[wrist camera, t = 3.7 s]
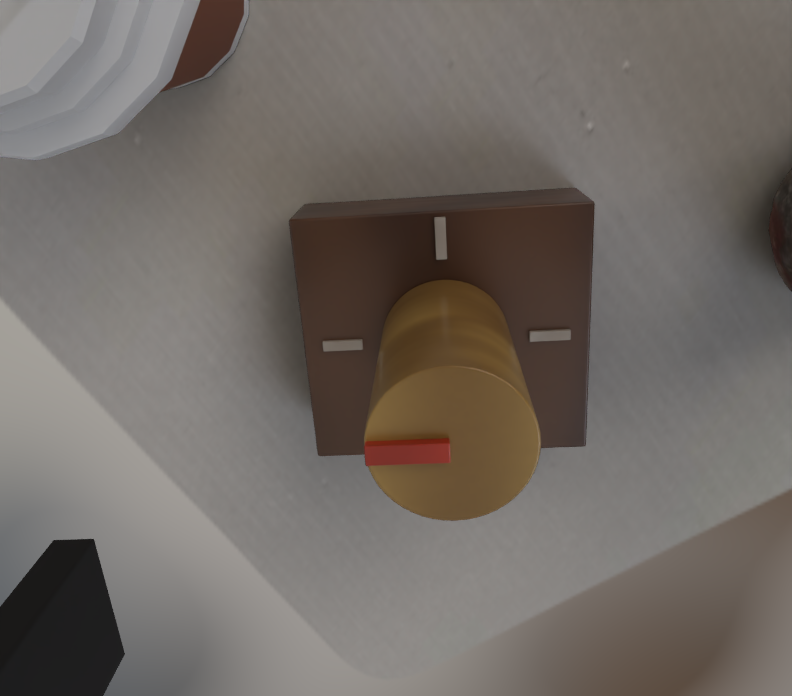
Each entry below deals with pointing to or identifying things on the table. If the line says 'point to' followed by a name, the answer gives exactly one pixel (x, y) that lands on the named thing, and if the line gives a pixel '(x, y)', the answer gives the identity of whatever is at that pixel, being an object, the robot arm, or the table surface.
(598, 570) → the table surface
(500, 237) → the panel
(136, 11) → the coffee cup
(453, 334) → the dimmer knob
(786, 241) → the weathered brown cylinder
